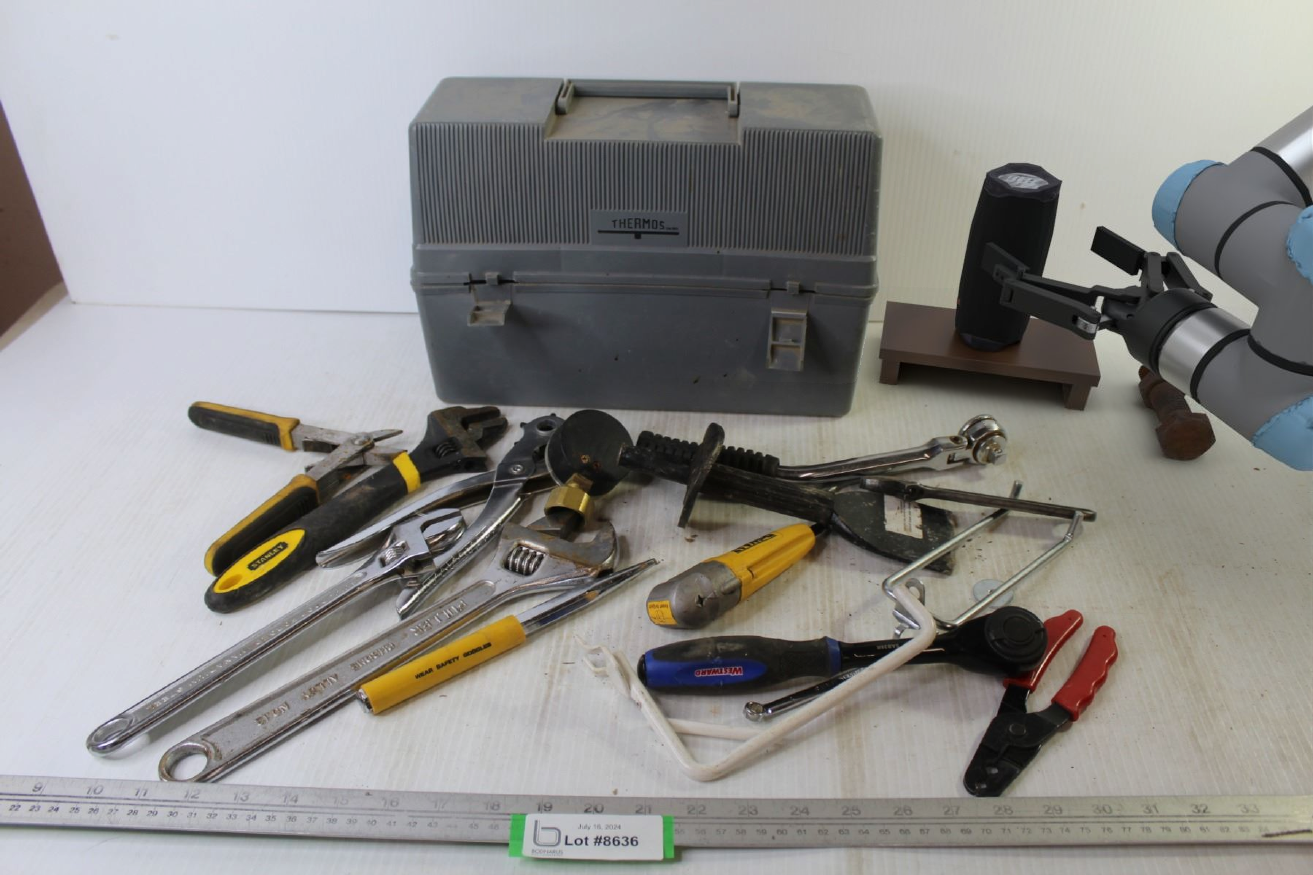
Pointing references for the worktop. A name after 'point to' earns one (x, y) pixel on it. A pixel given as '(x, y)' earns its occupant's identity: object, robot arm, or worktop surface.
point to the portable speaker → (1020, 225)
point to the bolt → (1175, 418)
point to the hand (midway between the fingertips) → (1042, 246)
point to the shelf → (1037, 356)
